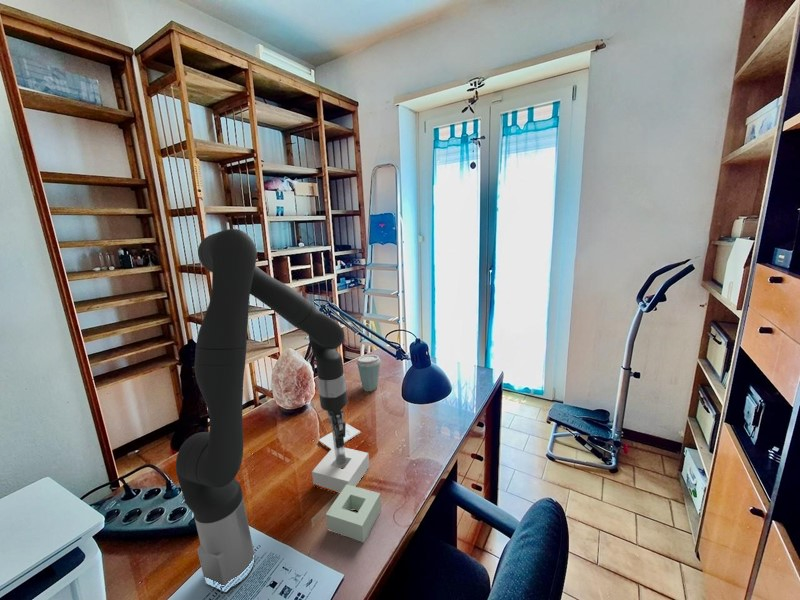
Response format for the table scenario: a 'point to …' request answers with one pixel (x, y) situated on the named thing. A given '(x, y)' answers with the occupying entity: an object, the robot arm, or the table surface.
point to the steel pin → (339, 452)
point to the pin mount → (352, 522)
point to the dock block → (341, 470)
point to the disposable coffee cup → (369, 371)
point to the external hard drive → (349, 434)
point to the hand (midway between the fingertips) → (338, 443)
